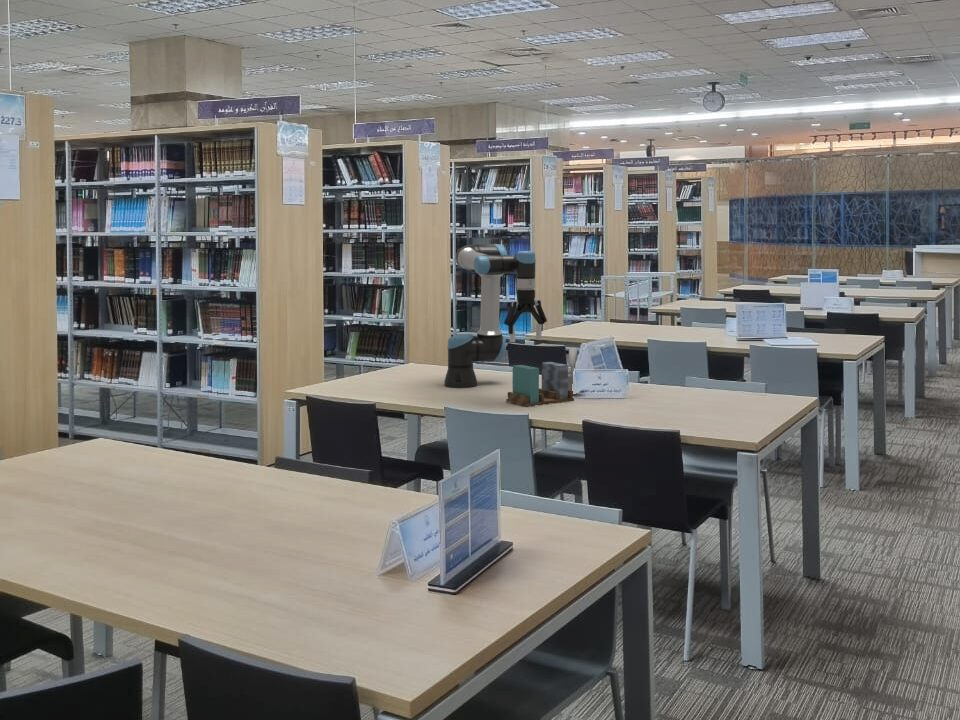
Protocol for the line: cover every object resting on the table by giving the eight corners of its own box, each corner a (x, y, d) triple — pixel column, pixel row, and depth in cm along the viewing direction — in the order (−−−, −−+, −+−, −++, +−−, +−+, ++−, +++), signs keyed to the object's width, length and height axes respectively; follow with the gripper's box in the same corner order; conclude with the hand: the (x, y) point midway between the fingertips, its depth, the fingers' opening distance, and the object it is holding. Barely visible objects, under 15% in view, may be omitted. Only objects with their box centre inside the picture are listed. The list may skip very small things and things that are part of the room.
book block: (512, 398, 409) (512, 365, 407) (521, 397, 412) (521, 364, 410) (530, 403, 400) (530, 369, 398) (538, 401, 402) (539, 368, 400)
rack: (506, 402, 409) (506, 365, 407) (552, 395, 423) (553, 361, 421) (526, 407, 397) (526, 369, 395) (573, 400, 412) (574, 364, 409)
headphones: (582, 397, 420) (583, 350, 417) (561, 396, 421) (561, 350, 418) (584, 390, 438) (585, 345, 435) (564, 389, 439) (564, 345, 437)
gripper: (506, 290, 389) (506, 343, 392) (555, 288, 403) (555, 339, 406) (495, 289, 395) (495, 342, 398) (544, 287, 410) (543, 337, 413)
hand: (525, 340), depth 402 cm, fingers open, 13 cm apart
